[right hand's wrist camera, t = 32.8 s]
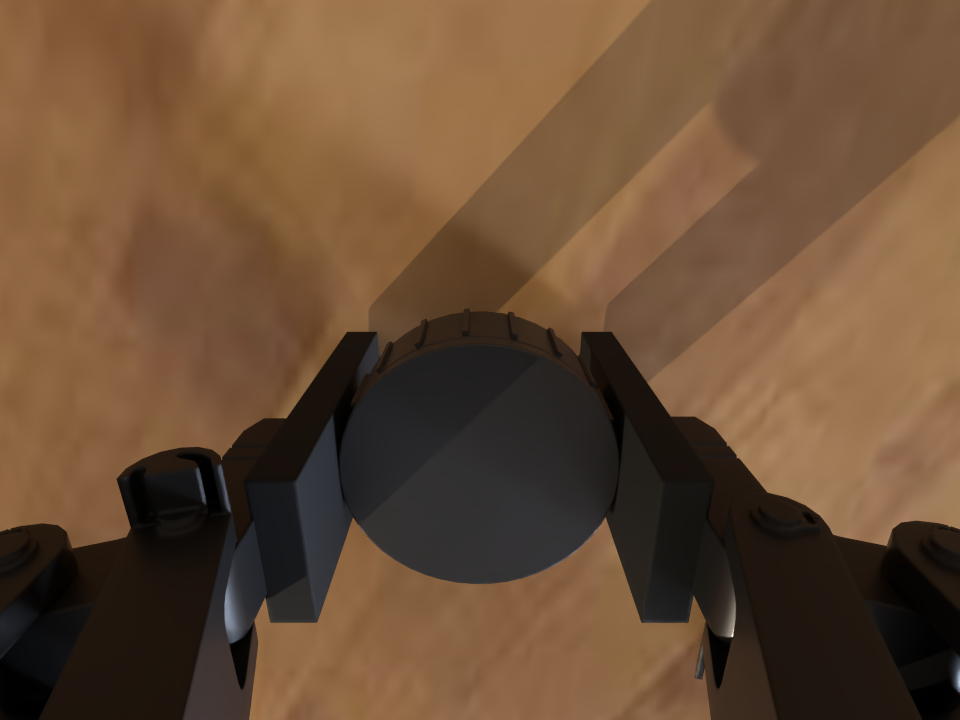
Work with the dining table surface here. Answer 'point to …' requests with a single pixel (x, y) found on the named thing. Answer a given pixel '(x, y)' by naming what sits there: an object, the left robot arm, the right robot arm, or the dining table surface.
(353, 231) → the dining table surface
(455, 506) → the lid
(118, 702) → the right robot arm
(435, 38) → the dining table surface
